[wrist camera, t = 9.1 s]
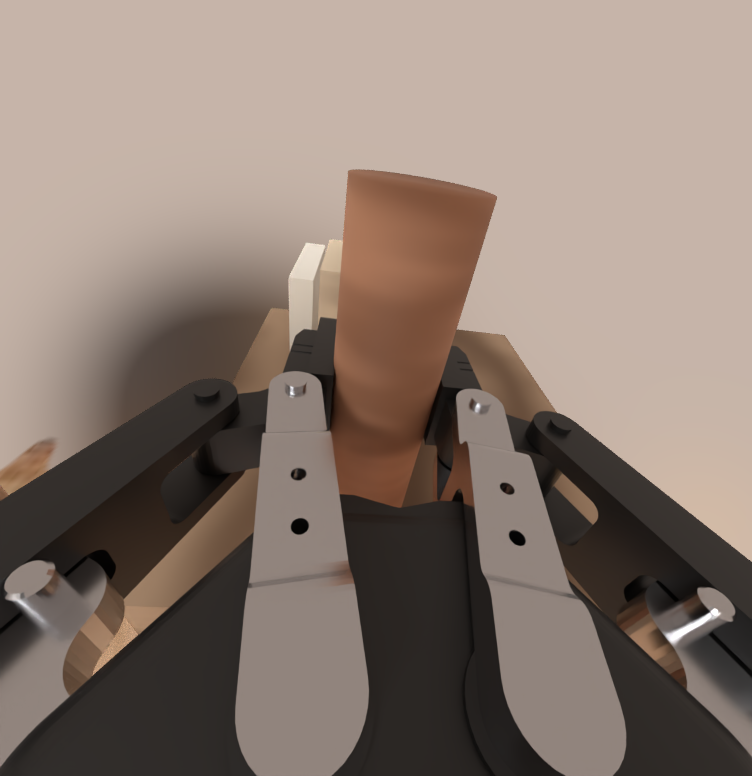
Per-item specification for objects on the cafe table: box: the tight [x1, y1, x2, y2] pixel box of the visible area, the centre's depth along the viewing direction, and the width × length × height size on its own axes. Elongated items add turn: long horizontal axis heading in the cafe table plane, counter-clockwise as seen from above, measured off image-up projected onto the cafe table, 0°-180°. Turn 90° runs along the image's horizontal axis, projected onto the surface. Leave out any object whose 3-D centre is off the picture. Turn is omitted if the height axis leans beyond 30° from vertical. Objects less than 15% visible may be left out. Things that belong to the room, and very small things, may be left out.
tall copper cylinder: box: [318, 170, 497, 508], centre depth 15 cm, size 5×12×13 cm, turn 1°
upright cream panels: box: [289, 243, 325, 350], centre depth 26 cm, size 10×8×6 cm
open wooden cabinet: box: [124, 308, 603, 635], centre depth 29 cm, size 22×24×24 cm
